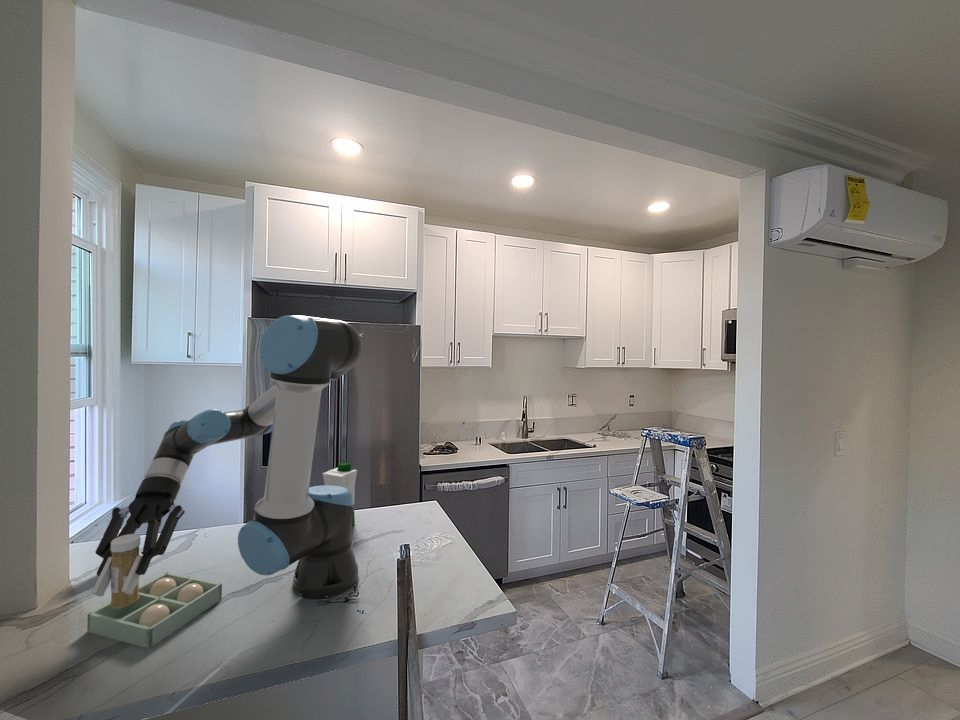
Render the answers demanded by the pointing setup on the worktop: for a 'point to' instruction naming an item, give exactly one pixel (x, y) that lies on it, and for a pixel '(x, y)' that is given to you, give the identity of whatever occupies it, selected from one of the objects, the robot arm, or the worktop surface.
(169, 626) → the carton
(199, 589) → the egg
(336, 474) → the milk carton
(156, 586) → the egg
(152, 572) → the worktop surface
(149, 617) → the egg
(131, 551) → the sprinkles bottle
